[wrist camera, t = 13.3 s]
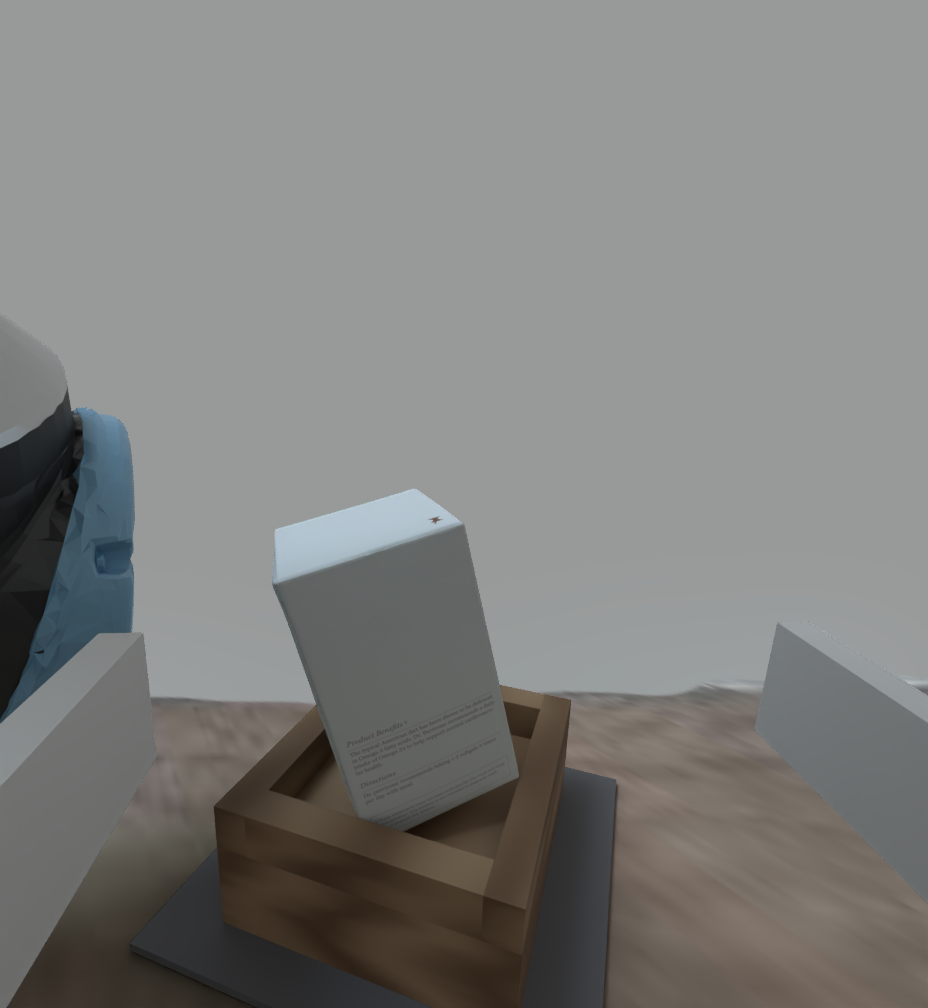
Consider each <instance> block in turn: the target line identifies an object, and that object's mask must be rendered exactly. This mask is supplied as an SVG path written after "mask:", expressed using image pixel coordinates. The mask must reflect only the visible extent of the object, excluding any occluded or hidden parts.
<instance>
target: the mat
mask: <svg viewBox="0 0 928 1008" xmlns="http://www.w3.org/2000/svg"><path fill="white" fill-rule="evenodd" d="M615 792H616V780H615V779H611V778H607V777H603V776H599V775H595V774H591V773H587V772H583V771H579V770H575V769H571V768H567V767H565V769H564V780H563V790H562V795H561V801H560V806H559V811H558V816H557V822H556V827H555V832H554V837H553V843H552V848H551V853H550V858H549V864H548V869H547V874H546V880H545V885H544V890H543V895H542V901H541V906H540V911H539V916H538V922H537V927H536V932H535V937H534V943H533V948H532V953H531V959H530V964H529V969H528V974H527V980H526V985H525V990H524V995H523V1001H522V1006H521V1008H603V997H604V980H605V963H606V946H607V929H608V912H609V895H610V877H611V860H612V843H613V826H614V809H615ZM130 951H133V952H135V953H137V954H139V955H141V956H144V957H146V958H148V959H150V960H152V961H155V962H157V963H159V964H161V965H163V966H166V967H168V968H170V969H172V970H175V971H177V972H179V973H181V974H183V975H186V976H188V977H190V978H192V979H194V980H197V981H199V982H201V983H203V984H205V985H208V986H210V987H212V988H214V989H216V990H219V991H221V992H223V993H225V994H228V995H230V996H232V997H234V998H236V999H239V1000H241V1001H243V1002H245V1003H247V1004H250V1005H252V1006H254V1007H256V1008H433V1007H431V1006H428V1005H426V1004H423V1003H421V1002H418V1001H416V1000H413V999H411V998H408V997H406V996H404V995H401V994H399V993H396V992H394V991H391V990H389V989H386V988H384V987H381V986H379V985H376V984H374V983H372V982H369V981H367V980H364V979H362V978H359V977H357V976H354V975H352V974H349V973H347V972H344V971H342V970H340V969H337V968H335V967H332V966H330V965H327V964H325V963H322V962H320V961H317V960H315V959H312V958H310V957H308V956H305V955H303V954H300V953H298V952H295V951H293V950H290V949H288V948H285V947H283V946H280V945H278V944H276V943H273V942H271V941H268V940H266V939H263V938H261V937H258V936H256V935H253V934H251V933H248V932H246V931H244V930H241V929H239V928H236V927H234V926H231V925H229V924H226V923H224V922H223V914H222V901H221V889H220V877H219V864H218V852H217V848H216V849H215V850H214V851H213V852H212V853H211V855H210V856H209V857H208V858H207V859H206V860H205V861H204V862H203V863H202V864H201V865H200V867H199V868H198V869H197V870H196V871H195V872H194V873H193V874H192V875H191V876H190V877H189V879H188V880H187V881H186V882H185V883H184V884H183V885H182V886H181V887H180V888H179V890H178V891H177V892H176V893H175V894H174V895H173V896H172V897H171V898H170V899H169V900H168V902H167V903H166V904H165V905H164V906H163V907H162V908H161V909H160V910H159V911H158V912H157V914H156V915H155V916H154V917H153V918H152V919H151V920H150V921H149V922H148V923H147V924H146V926H145V927H144V928H143V929H142V930H141V931H140V932H139V933H138V934H137V935H136V937H135V938H134V939H133V940H132V941H131V942H130Z"/></svg>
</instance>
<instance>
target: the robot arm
mask: <svg viewBox="0 0 928 1008" xmlns="http://www.w3.org/2000/svg"><path fill="white" fill-rule="evenodd" d="M134 521H135V512H134V482H133V467H132V455H131V448H130V442H129V438H128V433H127V430H126V428H125V426H124V425H123V423H122V422H121V421H120V420H118V419H117V418H115V417H113V416H109V415H104V414H98V413H97V412H95V411H94V410H92V409H89V410H86V408H76V409H75V410H74V411H71V406H70V400H69V395H68V388H67V381H66V376H65V371H64V367H63V365H62V364H61V362H60V360H59V358H58V357H57V355H56V354H55V353H54V352H53V351H52V350H51V349H50V348H49V347H47V346H46V345H44V344H43V343H42V342H40V341H39V340H37V339H36V338H35V337H33V336H32V335H31V334H29V333H28V332H26V331H25V330H23V329H22V328H21V327H19V326H18V325H16V324H15V323H14V322H12V321H11V320H9V319H8V318H6V317H5V316H4V315H2V314H1V313H0V1008H7V1006H8V1005H9V1003H10V1001H11V1000H12V998H13V996H14V995H15V993H16V991H17V990H18V988H19V986H20V985H21V983H22V981H23V980H24V978H25V976H26V975H27V973H28V971H29V970H30V968H31V966H32V965H33V963H34V961H35V960H36V958H37V956H38V955H39V953H40V951H41V950H42V948H43V946H44V945H45V943H46V941H47V940H48V938H49V936H50V935H51V933H52V931H53V930H54V928H55V926H56V925H57V923H58V921H59V920H60V918H61V916H62V915H63V913H64V911H65V909H66V908H67V906H68V904H69V903H70V901H71V899H72V898H73V896H74V894H75V893H76V891H77V889H78V888H79V886H80V884H81V883H82V881H83V879H84V878H85V876H86V874H87V873H88V871H89V869H90V868H91V866H92V864H93V863H94V861H95V859H96V858H97V856H98V854H99V853H100V851H101V849H102V848H103V846H104V844H105V843H106V841H107V839H108V838H109V836H110V834H111V833H112V831H113V829H114V828H115V826H116V824H117V823H118V821H119V819H120V818H121V816H122V814H123V813H124V811H125V809H126V808H127V806H128V804H129V803H130V801H131V799H132V798H133V796H134V794H135V793H136V791H137V789H138V788H139V786H140V784H141V783H142V781H143V779H144V778H145V776H146V774H147V773H148V771H149V769H150V768H151V766H152V764H153V763H154V761H155V759H156V758H157V757H156V747H155V738H154V729H153V719H152V710H151V701H150V692H149V682H148V673H147V664H146V654H145V645H144V636H143V633H132V625H133V605H134V604H133V601H134V573H133V565H132V562H131V560H130V558H131V555H132V553H133V530H134ZM755 731H756V732H757V733H758V734H759V735H760V736H761V737H762V738H763V739H764V740H765V741H766V742H767V743H768V744H769V745H770V746H771V747H772V748H773V749H774V750H775V751H776V752H777V753H778V754H779V755H780V756H781V757H782V758H783V759H784V760H785V761H786V762H787V763H788V764H789V765H790V766H791V767H792V768H793V769H794V770H795V771H796V772H797V773H798V774H799V775H800V776H801V777H802V778H803V779H804V780H805V781H806V782H807V783H808V784H809V785H810V786H811V787H812V788H813V789H814V790H815V791H816V792H817V793H818V794H819V795H820V796H821V797H822V798H823V799H824V800H825V801H826V802H827V803H828V804H829V805H830V806H831V807H832V808H833V809H834V810H835V811H836V812H837V813H838V814H839V815H840V816H841V817H842V818H843V819H844V820H845V821H846V822H847V823H848V824H849V825H850V826H851V827H852V828H853V829H854V830H855V831H856V832H857V833H858V834H859V835H860V836H861V837H862V838H863V839H864V840H865V841H866V842H867V843H868V844H869V845H870V846H871V847H872V848H873V849H874V850H875V851H876V852H877V853H878V854H879V855H880V856H881V857H882V858H883V859H884V860H885V861H886V862H887V863H888V864H889V865H890V866H891V867H892V868H893V869H894V870H895V871H896V872H897V873H898V874H899V875H900V876H901V877H902V878H903V879H904V880H905V881H906V882H907V883H908V884H909V885H910V886H911V887H912V888H913V889H914V890H915V891H916V892H917V893H918V894H919V895H920V896H921V897H922V898H923V899H924V900H925V901H926V902H927V903H928V695H926V694H924V693H923V692H921V691H920V690H918V689H916V688H915V687H913V686H911V685H910V684H908V683H907V682H905V681H903V680H902V679H900V678H898V677H897V676H895V675H894V674H892V673H890V672H889V671H887V670H886V669H884V668H882V667H881V666H879V665H877V664H876V663H874V662H873V661H871V660H869V659H868V658H866V657H864V656H863V655H861V654H860V653H858V652H856V651H855V650H853V649H851V648H850V647H848V646H846V645H845V644H843V643H842V642H840V641H838V640H836V639H835V638H833V637H832V636H830V635H829V634H827V633H825V632H824V631H822V630H821V629H819V628H817V627H816V626H814V625H812V624H811V623H809V622H781V623H780V622H778V623H777V627H776V632H775V636H774V641H773V645H772V651H771V655H770V660H769V664H768V669H767V674H766V679H765V683H764V688H763V692H762V697H761V702H760V706H759V711H758V716H757V720H756V725H755Z"/></svg>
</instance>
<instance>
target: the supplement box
mask: <svg viewBox="0 0 928 1008" xmlns="http://www.w3.org/2000/svg"><path fill="white" fill-rule="evenodd" d="M272 585H273V588H274V590H275V593H276V595H277V597H278V600H279V602H280V604H281V607H282V609H283V612H284V614H285V617H286V620H287V622H288V625H289V628H290V631H291V633H292V636H293V639H294V642H295V644H296V647H297V650H298V653H299V656H300V659H301V662H302V664H303V667H304V670H305V673H306V676H307V679H308V681H309V684H310V687H311V690H312V693H313V696H314V699H315V702H316V705H317V708H318V711H319V714H320V717H321V719H322V722H323V725H324V728H325V731H326V733H327V736H328V739H329V742H330V745H331V748H332V751H333V754H334V756H335V759H336V762H337V765H338V768H339V771H340V773H341V776H342V779H343V782H344V785H345V788H346V790H347V793H348V795H349V798H350V800H351V803H352V806H353V809H354V811H355V814H356V817H357V818H360V819H363V820H367V821H370V822H373V823H376V824H380V825H383V826H386V827H389V828H392V829H396V830H399V831H402V832H404V831H406V830H408V829H410V828H412V827H415V826H417V825H419V824H421V823H423V822H425V821H427V820H429V819H432V818H434V817H436V816H438V815H440V814H442V813H444V812H446V811H448V810H450V809H453V808H455V807H457V806H459V805H461V804H463V803H465V802H467V801H469V800H472V799H474V798H476V797H478V796H480V795H482V794H485V793H487V792H489V791H491V790H493V789H495V788H497V787H499V786H501V785H503V784H505V783H508V782H510V781H512V780H514V779H516V778H518V777H519V772H518V767H517V762H516V757H515V753H514V748H513V744H512V740H511V735H510V731H509V726H508V722H507V717H506V712H505V708H504V703H503V699H502V695H501V690H500V685H499V681H498V676H497V672H496V667H495V662H494V658H493V654H492V649H491V645H490V640H489V635H488V631H487V626H486V622H485V617H484V613H483V608H482V603H481V599H480V594H479V590H478V585H477V581H476V576H475V572H474V567H473V562H472V558H471V553H470V549H469V544H468V539H467V535H466V530H465V526H464V524H463V523H462V522H461V521H459V520H457V519H456V518H455V517H454V516H453V515H452V514H450V513H449V512H448V511H446V510H445V509H443V508H442V507H441V506H439V505H438V504H437V503H435V502H434V501H432V500H431V499H429V498H428V497H427V496H425V495H424V494H423V493H421V492H420V491H418V490H416V489H411V490H408V491H405V492H401V493H398V494H395V495H392V496H388V497H385V498H381V499H378V500H375V501H372V502H368V503H365V504H362V505H358V506H354V507H351V508H348V509H344V510H341V511H337V512H334V513H330V514H327V515H323V516H320V517H317V518H313V519H310V520H306V521H303V522H299V523H296V524H292V525H289V526H285V527H282V528H278V529H275V554H274V566H273V581H272Z"/></svg>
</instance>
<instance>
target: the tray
mask: <svg viewBox="0 0 928 1008" xmlns="http://www.w3.org/2000/svg"><path fill="white" fill-rule="evenodd" d="M500 690H501V695H502V699H503V703H504V708H505V712H506V717H507V722H508V726H509V731H510V735H511V740H512V744H513V748H514V753H515V757H516V762H517V767H518V772H519V777H518V778H516V779H514V780H512V781H510V782H508V783H505V784H503V785H501V786H499V787H497V788H495V789H493V790H491V791H489V792H487V793H485V794H482V795H480V796H478V797H476V798H474V799H472V800H469V801H467V802H465V803H463V804H461V805H459V806H457V807H455V808H453V809H450V810H448V811H446V812H444V813H442V814H440V815H438V816H436V817H434V818H432V819H429V820H427V821H425V822H423V823H421V824H419V825H417V826H415V827H412V828H410V829H408V830H406V831H404V832H402V831H399V830H396V829H392V828H389V827H386V826H383V825H380V824H376V823H373V822H370V821H367V820H363V819H360V818H357V817H356V814H355V811H354V809H353V806H352V803H351V800H350V798H349V795H348V793H347V790H346V788H345V785H344V782H343V779H342V776H341V773H340V771H339V768H338V765H337V762H336V759H335V756H334V754H333V751H332V748H331V745H330V742H329V739H328V736H327V733H326V731H325V728H324V725H323V722H322V719H321V717H320V714H319V711H318V708H317V705H316V706H315V707H314V708H313V709H312V710H311V711H310V712H309V713H308V714H307V715H306V716H305V717H304V718H303V719H302V720H301V721H300V722H299V723H298V724H297V725H296V726H295V727H294V728H293V729H291V730H290V731H289V732H288V733H287V734H286V735H285V736H284V737H283V738H282V739H281V740H280V741H279V742H278V743H277V744H276V745H275V746H274V747H273V748H272V749H271V750H270V751H269V752H268V753H267V754H266V755H265V756H264V757H263V758H262V759H261V760H260V761H259V762H258V763H257V764H256V765H255V766H254V767H253V768H252V769H251V770H250V771H249V772H248V773H247V774H246V775H245V776H244V777H243V778H242V779H241V780H240V781H239V782H238V783H237V784H236V785H235V786H234V787H233V788H232V789H231V790H230V791H229V792H228V793H227V794H226V795H225V796H224V797H223V798H222V799H221V800H220V801H219V802H218V803H217V804H216V805H215V806H214V815H215V827H216V840H217V852H218V864H219V877H220V889H221V901H222V914H223V922H224V923H226V924H229V925H231V926H234V927H236V928H239V929H241V930H244V931H246V932H248V933H251V934H253V935H256V936H258V937H261V938H263V939H266V940H268V941H271V942H273V943H276V944H278V945H280V946H283V947H285V948H288V949H290V950H293V951H295V952H298V953H300V954H303V955H305V956H308V957H310V958H312V959H315V960H317V961H320V962H322V963H325V964H327V965H330V966H332V967H335V968H337V969H340V970H342V971H344V972H347V973H349V974H352V975H354V976H357V977H359V978H362V979H364V980H367V981H369V982H372V983H374V984H376V985H379V986H381V987H384V988H386V989H389V990H391V991H394V992H396V993H399V994H401V995H404V996H406V997H408V998H411V999H413V1000H416V1001H418V1002H421V1003H423V1004H426V1005H428V1006H431V1007H433V1008H521V1006H522V1001H523V995H524V990H525V985H526V980H527V974H528V969H529V964H530V959H531V953H532V948H533V943H534V937H535V932H536V927H537V922H538V916H539V911H540V906H541V901H542V895H543V890H544V885H545V880H546V874H547V869H548V864H549V858H550V853H551V848H552V843H553V837H554V832H555V827H556V822H557V816H558V811H559V806H560V801H561V795H562V790H563V780H564V769H565V759H566V748H567V738H568V727H569V717H570V706H571V700H569V699H564V698H559V697H554V696H550V695H545V694H540V693H535V692H531V691H526V690H521V689H516V688H512V687H507V686H502V685H500Z"/></svg>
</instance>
